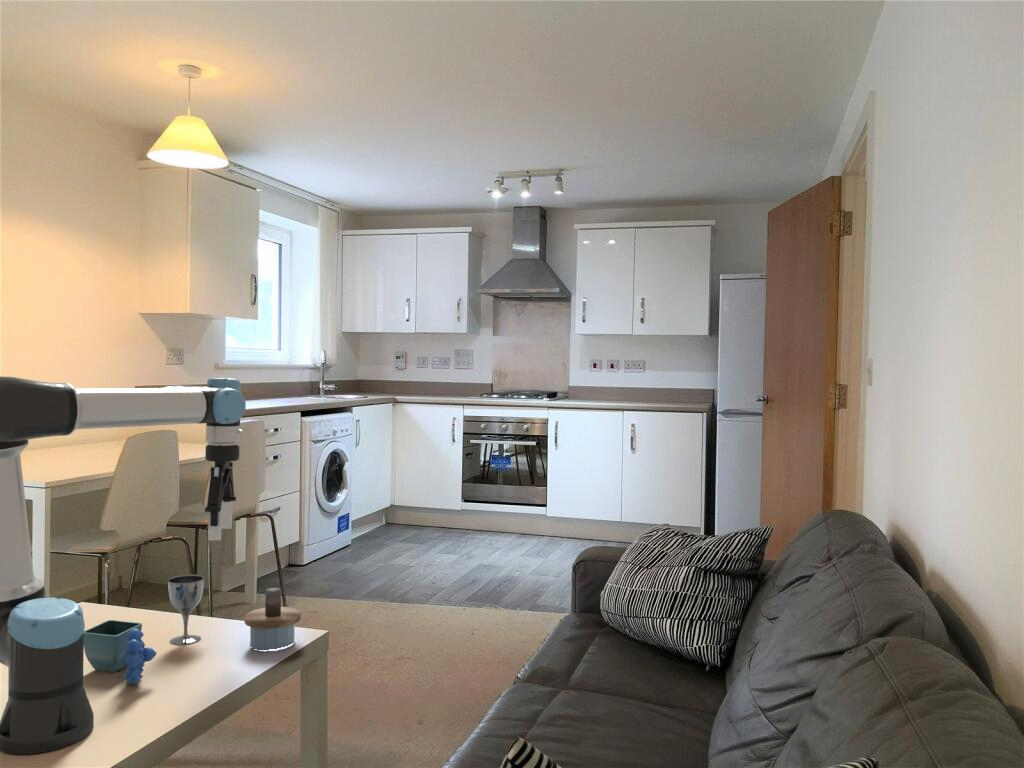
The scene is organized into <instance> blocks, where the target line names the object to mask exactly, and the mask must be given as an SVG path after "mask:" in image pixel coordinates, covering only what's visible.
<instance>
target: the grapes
mask: <svg viewBox="0 0 1024 768" xmlns="http://www.w3.org/2000/svg"><path fill="white" fill-rule="evenodd" d="M144 635H145V634H144V633H143V632H142V630H141V631H140V630H139V629H137V628H134V629H132V630H131V631H130V632H129V633H128V634H127V635H126V637H125V638H126V639H127V640H128V641H129V642H128V643H127V644H126V645H125V647H124V648H125V649H126V650H127V651H126V652H125V653H124V654H123V656H122V659H123V660H124V664H125V665H126V666H125V667H127V670H126V671H125V673H124V674H123V675H124V679H125V680H126V682H128V683H129V684H130V685H134V686H135V685H136V684H138V683H139V682H140V681H141V679H142V678H143V677H144V676H143V675H142V673H143V672H144V669H143V667H144V666H145V663H146V662H151V661H152V660H153V659H154V658H155V656H156V655H157V651H156V650H154V649H153V648H152V647H151V646H148V647H146V644H145V642H144V640H143V639H142V638H143V637H144Z"/></svg>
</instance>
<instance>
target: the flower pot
mask: <svg viewBox="0 0 1024 768" xmlns="http://www.w3.org/2000/svg"><path fill="white" fill-rule="evenodd" d="M142 627H143V622H142V623H141V622H135V621H124V620H114V619H109V620H108V619H107V620H106V621H103V622H101V623H99V624H97V625H94V626H92V627H91V628H89V629H86V630H84V654H85V657H86V659H87V661H88V663H89V664H90V666H91V667H92V668H93V669H94V670H95V671H102V672H109V673H115V672H117V671H120V670H121V669H122V668H124V667H127V666H126V665H125V664H124V660H123V659H122V656H123V654H124V653H125V652H126V651H127V650H126V649H125V648H124V647H125V645H126V644H127V643H128V642H129V641H128V640H127V639H126V638H125V637H126V635H127V634H128V633H129V632H130V631H131V630H132V629H134V628H137V629H139V630H140V631H141V632H142V629H143V628H142Z"/></svg>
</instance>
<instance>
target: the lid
mask: <svg viewBox="0 0 1024 768" xmlns="http://www.w3.org/2000/svg"><path fill="white" fill-rule="evenodd" d="M264 591H265V592H264V593H265V596H264V597H265V598H264V599H265V601H264V603H265V604H264V607H262V608H261V607H260V608H257V609H253V610H251V611H248V612H247V613H245V615H244V624H245V625H246V626H247V627H253V628H261V629H271V628H280V627H286V626H290V625H293V624H295V625H296V624H297V623H299V622H300V621H301V620H302V612H301V610H299V609H298V608H295V607H289V606H282V589H281V588H279V587H270V588H267V589H265V590H264Z"/></svg>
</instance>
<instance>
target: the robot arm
mask: <svg viewBox="0 0 1024 768" xmlns="http://www.w3.org/2000/svg"><path fill="white" fill-rule="evenodd" d="M245 413H246V399H245V397H244V395H243V393H242V385H241V381H240V380H239V379H238V378H227V377H210V378H208V380H207V383H206V385H203V386H198V385H197V386H196V385H195V386H192V385H168V386H167V385H166V386H162V387H160V388H159V387H145V388H144V387H140V388H139V387H138V388H135V387H134V388H133V387H130V388H128V387H125V388H124V387H123V388H121V387H119V388H117V387H116V388H107V387H106V388H105V387H103V388H101V387H100V388H98V387H97V388H95V387H94V388H91V387H89V388H82V387H81V388H75V387H74V386H73V385H72V384H71V383H67V382H48V381H37V380H32V379H26V378H20V377H15V376H0V664H2V665H4V666H5V667H8V669H7V670H8V678H7V679H8V681H7V682H8V685H7V687H8V690H7V692H8V698H7V702H6V704H5V707H4V709H3V712H2V715H1V718H0V751H1V752H3V753H7V754H10V755H35V754H41V753H46V752H51V751H52V752H53V751H55V750H56V751H57V750H59V749H63V748H65V747H68V746H71V745H73V744H75V743H78V742H79V741H81V740H82V739H84V738H86V737H87V736H88V735H90V734H91V732H92V731H93V729H94V724H95V723H94V720H95V719H94V718H95V717H94V712H93V711H94V710H93V708H92V706H91V704H90V701H89V698H88V694H87V693H86V690H85V688H84V656H85V655H84V654H85V650H84V631H85V628H86V625H85V622H86V621H85V618H84V611H83V609H82V607H81V605H80V604H78V603H77V602H75V601H73V600H71V599H68V598H62V597H61V598H57V597H46V596H47V595H46V588H45V582H44V581H43V580H41V579H40V578H38V577H37V576H35V575H34V573H35V572H34V568H33V567H34V566H33V565H34V564H33V556H32V549H31V548H32V546H31V540H30V539H31V538H30V531H29V530H30V529H29V523H28V522H29V521H28V513H27V504H26V503H27V501H26V496H25V485H24V476H23V467H22V459H21V454H22V452H23V451H24V450H25V449H26V448H27V447H28V446H29V440H35V439H40V438H48V437H49V438H50V437H60V436H65V437H66V436H70V435H71V434H73V433H74V432H75V430H88V429H89V430H90V429H109V428H111V429H113V428H129V427H130V428H132V427H150V426H151V427H152V426H169V425H170V426H172V425H191V424H195V425H196V424H201V425H202V424H205V442H206V443H207V444H206V445H205V451H204V452H205V453H204V454H205V455H204V459H205V460H206V461H207V462H214V466H211V468H210V479H209V480H210V481H209V486H208V487H209V489H208V496H207V502H206V503H207V504H206V507H204V512H205V513H208V519H207V521H208V524H207V525H208V526H207V529H208V530H207V541H221V540H222V530H224V529H225V530H230V529H231V530H232V526H233V505H234V504H233V502H236V500H237V497H236V496H235V486H234V473H233V472H234V470H233V469H234V467H233V465H234V462H236V461H238V460H240V451H241V450H240V448H241V447H240V445H239V444H238V443H239V442H240V437H241V436H240V435H241V434H242V435H243V430H242V429H240V428H241V426H240V425H241V419H242V418H243V416H244V415H245Z"/></svg>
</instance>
